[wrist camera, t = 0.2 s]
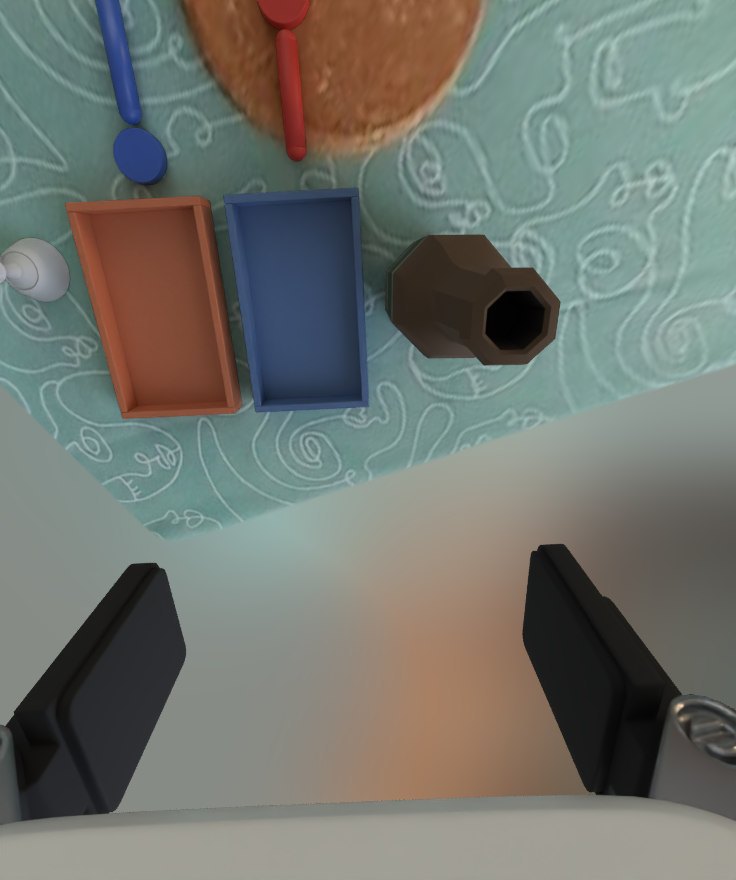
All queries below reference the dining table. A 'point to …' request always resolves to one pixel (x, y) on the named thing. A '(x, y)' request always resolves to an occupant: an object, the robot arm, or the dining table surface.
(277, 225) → the blue tray
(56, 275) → the chalice
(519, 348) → the beer bottle
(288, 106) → the red spoon
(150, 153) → the blue spoon
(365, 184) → the dining table surface
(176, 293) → the terracotta tray
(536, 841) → the robot arm
